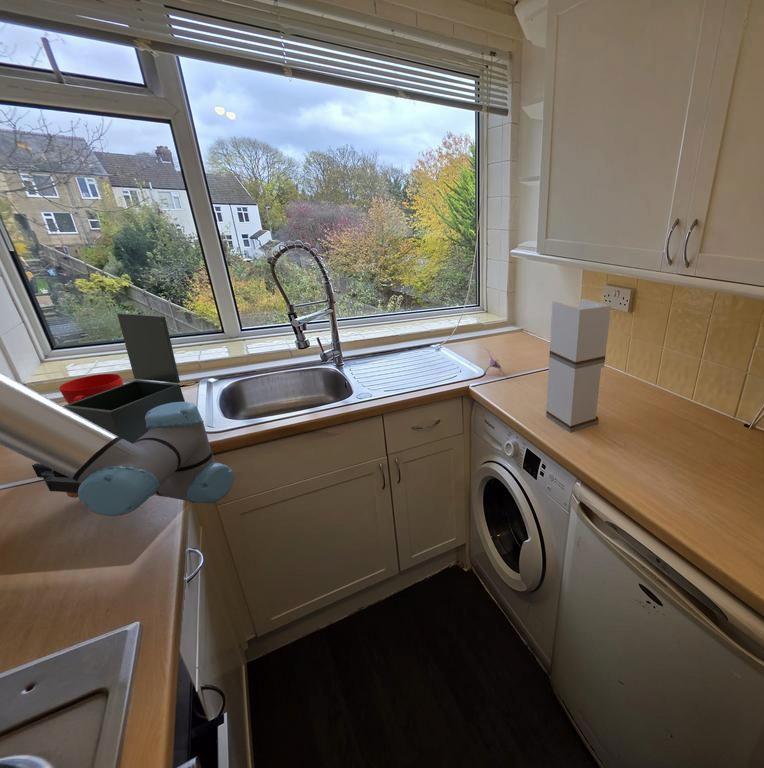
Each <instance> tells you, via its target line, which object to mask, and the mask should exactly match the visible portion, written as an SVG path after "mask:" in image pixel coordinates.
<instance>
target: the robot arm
mask: <svg viewBox="0 0 764 768" xmlns="http://www.w3.org/2000/svg"><path fill="white" fill-rule="evenodd" d="M63 406H64V405H61V404H59V403H57V402H56V401H54V400H52V399H50V398H48V397H47V396H45V395H43V394H41V393H40V392H37V391H35V390H34V389H32V388H30V387H28V386H26V385H24V384H22V383H20V382H19V381H17V380H15V379H13V378H11V377H9V376H7V375H6V374H4V373H3V372H0V446H3V447H4V448H6V449H9V450H11V451H13V452H15V453H17V454H19V455H22V456H23V457H26V458H27V459H29V460H32V461H34V462H36V463H34V464H32V465H31V467H32V470H33V471H34V473H35V475H36V477H37V478H41V479H43V481H44V482H45V484H46V487H47V489H48V490H49V492H54V493H55V492H56V493H66V492H70V493H78V496H79V497H78V500H79V501H80V503H82V504H84V505H85V506H86V509H87V510H89V511H90V512H92V513H95V514H98V515H100V516H106V517H119V516H123V515H128V514H130V513H132V512H134V511H136V510H137V509H138V508H140V507H141V506H142V505H143V504H144V503H145V502H147V500H148V499H150V497H153V496H158V497H164V498H170V499H175V500H181V501H184V502H185V501H186V502H189V503H193V504H196V503H198V504H215V503H217V502H219V501H221V500H222V499H223V498H225V497H226V496H227V495H228V494H229V493H230V491H231V490H232V488H233V485H234V481H235V475H234V471H233V470H232V468H231V467H230V466H229V465H226V464H223V463H221V462H216V460H215V456H214V453H213V451H212V448H211V445H210V440H209V437H208V433H207V431H206V427H205V424H204V419H202V418H203V417H202V416H201V413H200V411H199V409H198V407H197V405H196V404H194V403H192V402H188V401H185V402H174V403H168V404H164V405H160V406H158V407H155V408H153V409H151V410H150V411H148V412H147V413H146V416H145V421H146V427H147V428H148V432H147V433H145V434H144V435H143V436H141V437H140V438H139V439H138V440H136V441H135V442H134V443H131V442H128V441H126V440H124V439H122V438H120V437H118V436H116V435H114V434H113V433H111V432H109V431H107V430H105V429H103V428H102V427H100V426H98V425H96V424H94V423H92V422H91V421H89V420H87V419H85V418H83V417H81V416H79V415H78V414H76V413H74V412H72V411H70V410H68V409H67V408H65V407H63Z"/></svg>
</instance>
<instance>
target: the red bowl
mask: <svg viewBox="0 0 764 768" xmlns="http://www.w3.org/2000/svg"><path fill="white" fill-rule="evenodd" d="M121 385H124V381H123V378H122V376H121V375H120V374H117V373H101V374H94V375H88V376H82V377H78V378H75V379H72V380H69V381H67V382H64V383H63V384H61V385H59V387H58V388H59V389H58V390H59V391H60V394H61V395H62V397H63V398H64V400H65V402H66V403H67V404H70V403H73V402H76V401H79V400H81V399H84V398H87V397H90V396H93V395H95V394H98V393H101V392H104V391H107V390H109V389H112V388H115V387H118V386H121Z"/></svg>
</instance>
